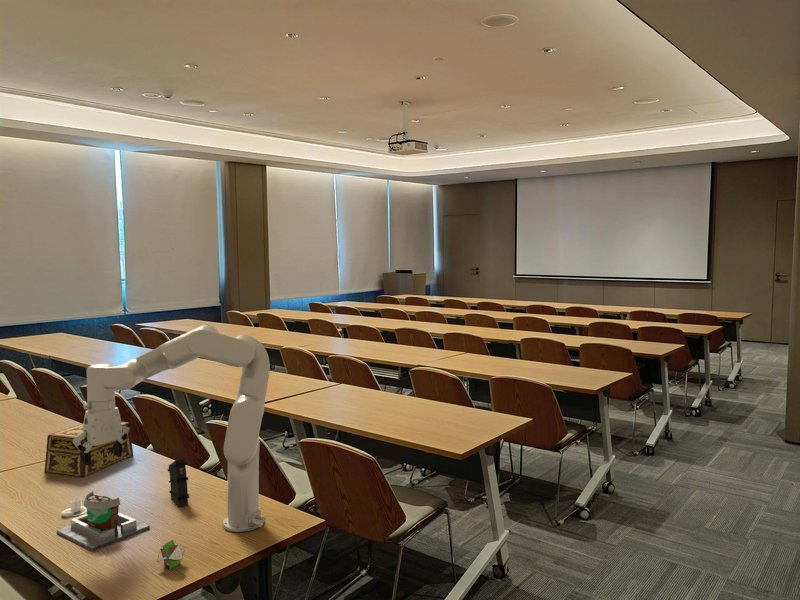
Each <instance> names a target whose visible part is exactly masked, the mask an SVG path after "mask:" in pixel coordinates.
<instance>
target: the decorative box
mask: <svg viewBox="0 0 800 600" xmlns="http://www.w3.org/2000/svg"><path fill="white" fill-rule="evenodd" d="M83 425H84V422H83V423H80V424H78V425H77V424H76V425H74V426H70V427H68V428H65V429H61V430H58V431H56V432H53V433H49V434H48V435H47V438H46V451H45V461H44V462H45V464H44V473H45V474H52V475H59V476H65V475H66V476H67V477H72V476H73V477H74V478H79V479H80V478H81V479H83V478H85V477H88V476H90V475H92V474H93V475H94V473H97V472H99V471H102V470H104V469H106V468H109V467H111V466H113V465H116V464H118V463H120V462H121V463H122V461H125V460H127V459H129V458H132V457H134V451H133V441H132V436H131V435H132V433H131V427H130V422H128V421H121V425H123V426H126V427H129V428H130V429H129V432H128V434H127V437H126V438H125V440H124V443H123V444H122V456H121V457H118V456H115V455H114V443H115V441H112V442H108V443H104V444H100V445H95V446H92V447H91V449H90V450H89V452H90V453H91V465H90V466H87V465H84V464H83V462H82V452H81V451H80V450H79V449H77V448H76V446H75V445H74V443H73V439H75V438H76V437H77V436H79V435H80V434H81V433H83ZM122 432H123V430H122ZM80 443H81V445H82V446H83V444H84V441H83V440H81V441H80ZM73 477H72V478H73Z"/></svg>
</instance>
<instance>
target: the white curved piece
mask: <svg viewBox="0 0 800 600" xmlns="http://www.w3.org/2000/svg"><path fill="white" fill-rule="evenodd" d="M69 504H70V505H69V506H70V507H69V508H65V510H62V511H61V513H60V514H61V516H63V517H75V516H77V517H78V516H80V515H81V516H82V515H83V514H84V515H85V514H87V509H86V507H85V506H84V499H83V498H74V499H73V498H72V499H70V501H69ZM81 509H84V511H83V512H80V510H81ZM78 512H80V513H78ZM75 513H77V514H75Z"/></svg>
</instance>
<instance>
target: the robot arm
mask: <svg viewBox="0 0 800 600" xmlns="http://www.w3.org/2000/svg"><path fill="white" fill-rule="evenodd" d="M199 358H202V359H205V360H209V361H211V362H212V361H213V362H216V363H219V364H223V365H227V366H229V367H234V368H241V369H242V370H241V376H240V379H239V381H240V382H239V386H238V387H239V388H238V391H237V396H236V399H235V401H234V403H233V405H232V407H231V409H230V412H229V417H228V421H227V427H226V432H225V436H224V437H225V438H224V442H223V449H222V450H223V455H224V457H225V459H226V461H227V517H225V518H224V519H223V520H222V527H223V528H224V529H225V530H226V531H228V532H234V533H243V532H244V533H245V532H250V531H253V530H256V529H258V528H260V527H263V524H264V523H265V522H266V521H267V519H266V517H265V516H263V515H262V511H261V509H260V505H259V503H260V502H259V501H260V500H259V499H260V496H259V494H260V491H259V486H260V485H259V483H260V482H259V481H260V479H259V475H260V471H259V469H260V465H259V464H260V463H259V462H260V435H259V434H260V431H261V426H262V420H263V417H264V412H265V403H266V402H265V401H266V396H267V391H268V390H267V389H268V383H269V378H270V371H271V370H270V366H271V364H270V358H269V355H268V351H267V350H266V348H265V346H264V345H263V344H262V343H261V342H260V341H259V340H258V339H256V338H255V337H254V336H251V335H248V334H241V335H238V336H235V337H233V336H229V335H226V334H223V333H220V332H219V330H218V329H217V328H216V327H214V326H213V325H209V324H205V325H200V326H198V327H196V328H194V329H191V330H190V331H188V332H185V333H183V334H181V335H179V336H177V337H174V338H172V339H170V340H168V341H166V342H164V343H162V344H160V345H159V346H158V347H155V348H154V349H152V350H150V351H147V352H145V353H143V354H141V355H139V356H137V357H135V358H133V359H131V360H128V361H125V362H123V363H122V364H120V365H116V366H114V365H112V364H109V363H98V364H97V363H96V364H92V365H89V366H88V367H87V369H86V395H87V397H86V398H87V401H86V403H85V404H84V405H83V409H84V410H85V413H84V418H83V423H84V425H83V433H81V434H80V435H79V436H77V437H76V438H75V439H73V443H74V445H75V446H76V448H77V449H79V450H80V451H81V452H82V462H83V464H84V465H87V466H90V465H91V453H90V452H89V450H90V449H91V447H92V446H95V445H100V444H104V443H108V442H112V441H115V443H114V455H115V456H118V457H121V456H122V444H123V443H124V440H125V438H126V437H127V434H128V432H129V429H130V430H131V427H130V428H129V427H126V426H123V425H121V422H122V419H121V415H120V414H121V413H120V410H119V407H117V406H116V390H117V391H126V390H130V389H133V387H135V386H137V385H138V384H140V383H141V382H144V381H145V380H147V379H150V378H152V377H153V376H155V375H158V374H160V373H162V372H165V371H168V370H173V369H177V368H180V367H181V366H185V365H186V364H188V363H190V362H192V361H195V360H197V359H199ZM122 430H123V432H122ZM81 440H83V441H84V444H83V446H82V445H81V443H80V441H81Z"/></svg>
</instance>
